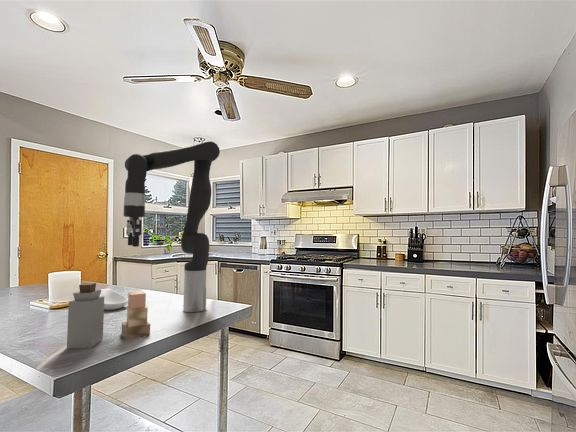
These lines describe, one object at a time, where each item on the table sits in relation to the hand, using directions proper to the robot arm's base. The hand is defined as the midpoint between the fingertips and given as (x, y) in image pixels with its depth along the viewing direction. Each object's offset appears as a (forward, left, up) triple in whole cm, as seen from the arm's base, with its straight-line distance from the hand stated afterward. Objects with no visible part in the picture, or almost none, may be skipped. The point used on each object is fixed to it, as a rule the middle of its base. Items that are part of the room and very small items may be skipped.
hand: (133, 245), depth 122 cm
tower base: (-5, +21, -28) cm, 36 cm away
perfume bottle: (+8, +26, -28) cm, 39 cm away
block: (-5, +22, -19) cm, 29 cm away
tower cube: (-5, +22, -24) cm, 33 cm away
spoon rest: (+13, -23, -29) cm, 39 cm away
